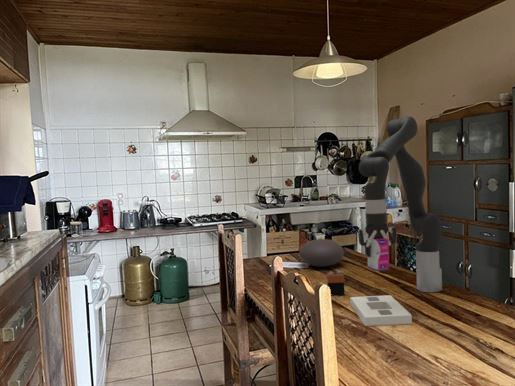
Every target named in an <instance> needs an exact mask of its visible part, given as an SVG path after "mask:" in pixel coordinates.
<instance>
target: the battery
mask: <svg viewBox="0 0 515 386" xmlns="http://www.w3.org/2000/svg"><path fill="white" fill-rule="evenodd" d="M326 276H327V277H326V278H327V287H328V286H329V287H330V289H331V294H332V295H333V296H334V295H337V296H345V295H346V293H345V275H344V273H343V271H342V270H336V271H335V272H334V271H329V272H327V273H326ZM334 297H335V296H334Z"/></svg>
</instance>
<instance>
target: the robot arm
mask: <svg viewBox="0 0 515 386" xmlns="http://www.w3.org/2000/svg"><path fill="white" fill-rule="evenodd" d="M418 129H419V128H418V123H417V120H416V119H415V118H414V117H413V116H404V117H400V118H395V119H392V120H390V121H388V122H387V124H386V132H387V138H386V139H384V140H383V141H381V142H380V144H379V145H378V146H377V147H376V149H374V150H373V151H372V152H370V153H368V154H367V155H365V156H364V157H362V159H361V160H360V162H359V164H358V171H359V173H360V175H362V176H363V177H367V178H370V177H371V178H372V177H376V178H375V181H373V182H370V183H369V182H368V183H367V184H366V185H365V187H364V192H365V193H364V194H365V204H364V207H365V208H364V209H365V211H364V212H365V228H361V229H360V228H358V229H357V236H358V237H357V238H358V244H359V245H360V246H361V247H364V254H365V256H366V257H367V258H368V257H370V247H369V245H370V243H371V242H372V240H373V239H382V238H384V239H389V237H388V236H387V233H388V232H389V233H390V239H389V256H390V255H391V254H392V247H391V246H392V245H394V244H396V243H397V228H396V227H395V226H390V227H389V226H388V214H387V212H388V208H387V203H386V201H387V200H386V184H387V183H386V182H387V178H388V175H389V172H390V171H389V169H390V165H389V164H390V162H391V161H392V159H393V158H394V157H395V159H396V163H397V164H396V165H397V168H398V170H399V175H400V180H401V183H402V187H403V191H404V194H405V199H406V202H407V208H408V215H409V220H410V225H411V228H412V230H413V231H414V232H415V233H417V234H421V235H422V240H421V241H419V242H416V244H415V263H416V264H415V265H416V289H417V291H420V292H423V293H438V292H442V291H443V276H442V275H443V274H442V271H443V270H442V268H441V267H440V245H441V242H442V222H441V219H440V217H439V216H438V215H437V214H435V213H430V212H426V211H425V207H424V203H423V197H424V192H425V190H426V183H427V182H426V177H425V174H424V169H423V167H422V165H421V164H420V162H419V161H417V159H415V158H414V157H413V156H412V155H411V154H410V153H409V151H407V149H406V146H405V145H406V144H407V143H408V142H410V141H411V140H413V139H414V138H415V137H416V135H417V133H418ZM365 233H366V234H367V236H366V238H365V240H364V235H365Z"/></svg>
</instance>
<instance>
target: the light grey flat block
mask: <svg viewBox="0 0 515 386" xmlns="http://www.w3.org/2000/svg"><path fill="white" fill-rule="evenodd" d="M349 299H350V306H351V307H352V309H353V310H354V312H355V314H356V315H357V316H358V318H359V319H360V321H361V322H362V324H363V325H364V327H373V326H392V325H393V326H395V325H412V324H413V319H412V318H413V317H412V316H413V315H412V314H411V313H410V312H409V311H408V310H407V309H406V308H404V306H403V305H402V304H400V303H399V302H398V301H397V300H396V299H395V298H394V297H393V296H392V295H391V294H389V295H387V294H386V295H366V296H352V297H351V296H350V298H349Z"/></svg>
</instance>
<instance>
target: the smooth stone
mask: <svg viewBox="0 0 515 386" xmlns="http://www.w3.org/2000/svg"><path fill="white" fill-rule="evenodd" d="M344 252H345V251H344V248H343V247H342V246H341V245H340V244H339V243H338V242H336V241H334V240H331V239H325V238H317V239H313V240H309V241H307V242H305V243H304V244H303V245H302V246H301V247H300V249H299V253H298V254H299V257H300V259H301V260H302V262H304V263H306V264H307V265H309V266H312V267H321V268H322V267H323V268H324V267H330V266H331V267H332V266H333V265H336V264H338V263H339V262H340V261H341V260H342V259H343V257H344Z"/></svg>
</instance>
